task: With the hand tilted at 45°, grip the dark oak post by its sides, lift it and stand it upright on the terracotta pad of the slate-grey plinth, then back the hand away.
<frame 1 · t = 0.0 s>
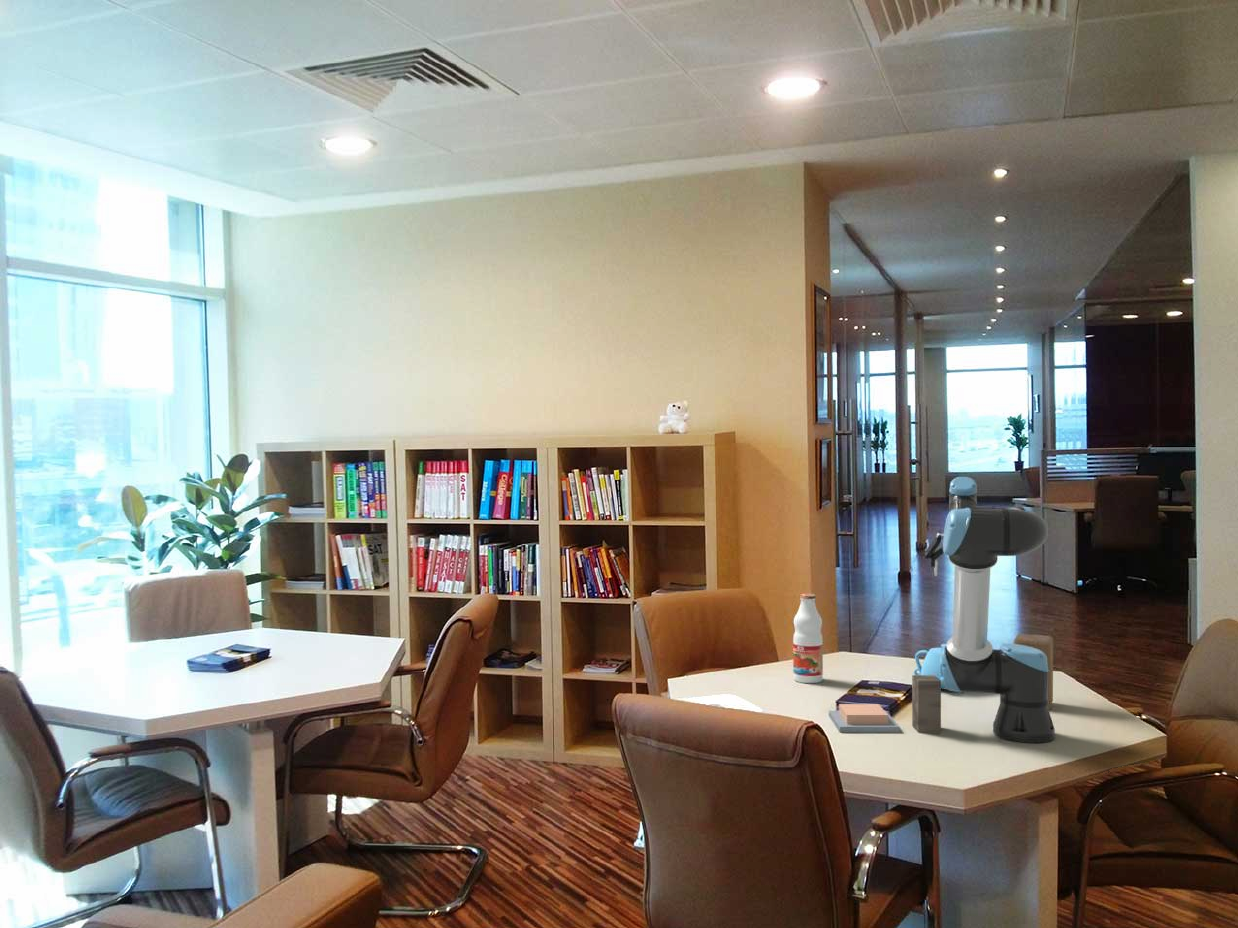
hand: (958, 573, 312), 36 cm above the table, tool tilted 35°, fingers open, 13 cm apart
computer: (715, 715, 285), on the table
fruit juice: (808, 680, 324), on the table
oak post: (926, 729, 268), on the table
decorative pot: (946, 688, 313), on the table
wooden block: (1033, 705, 292), on the table
plinth: (863, 723, 274), on the table
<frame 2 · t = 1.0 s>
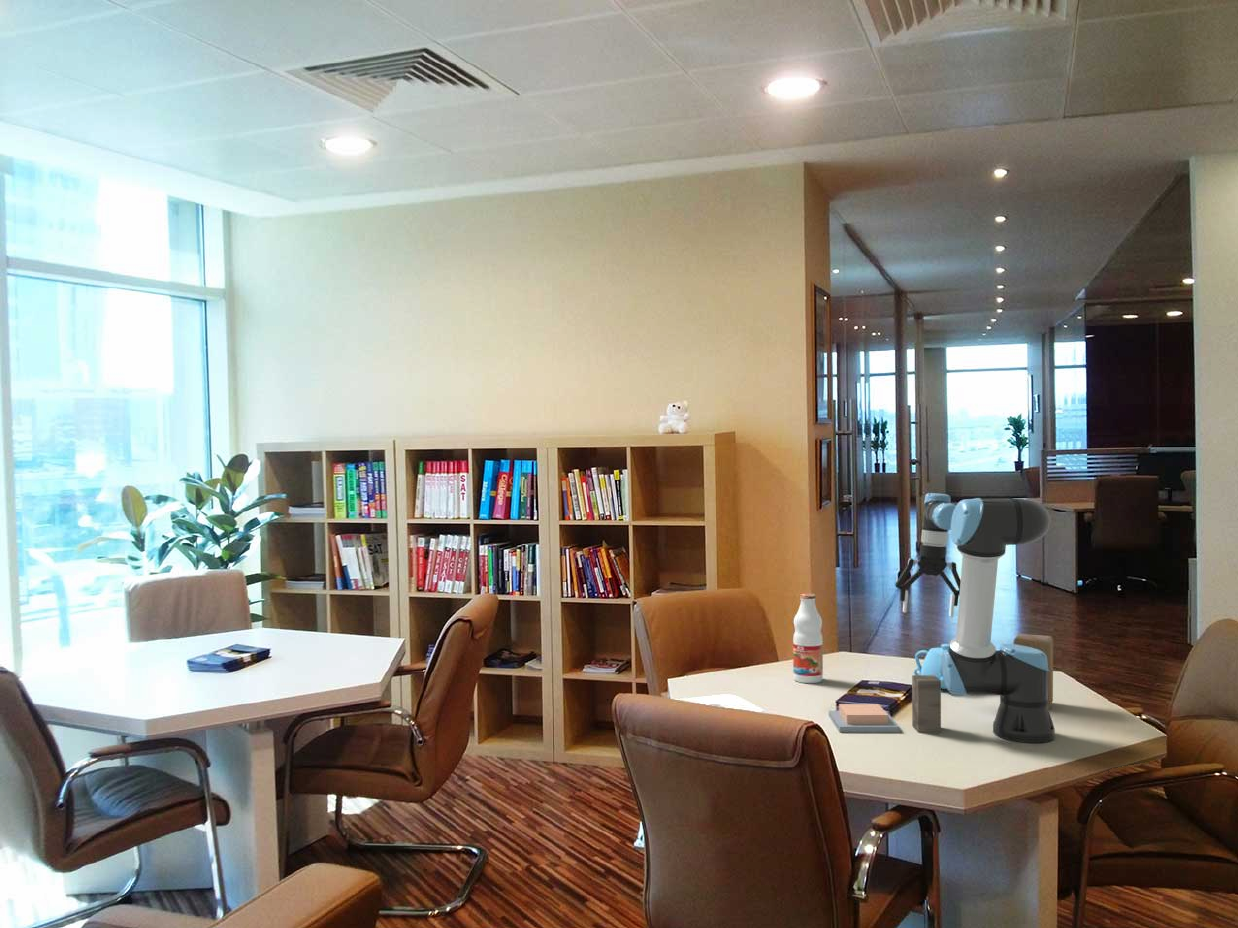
hand: (927, 614, 301), 25 cm above the table, tool pointing down, fingers open, 13 cm apart
nothing on the table moved.
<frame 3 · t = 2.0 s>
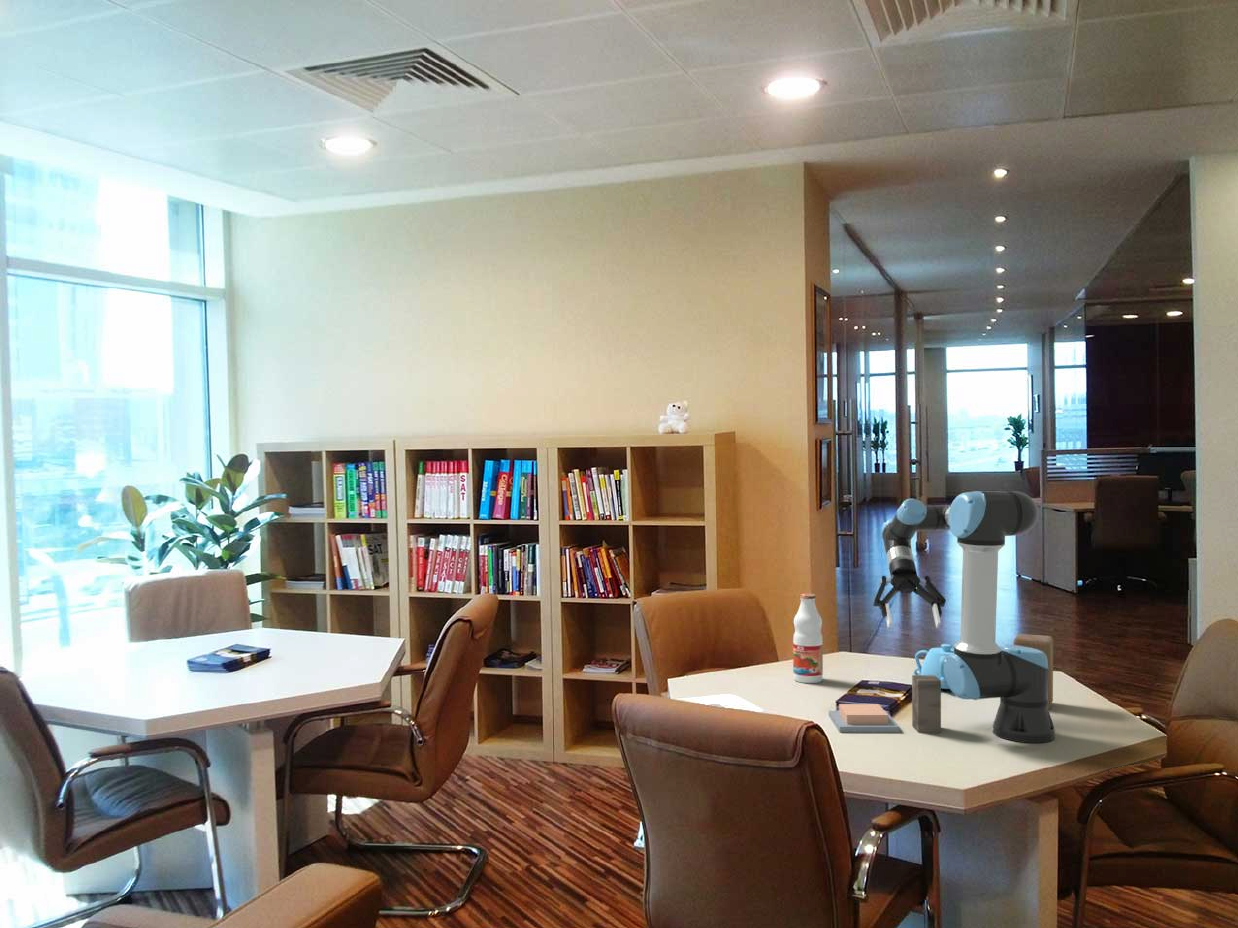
hand: (914, 625, 281), 26 cm above the table, tool tilted 45°, fingers open, 13 cm apart
nothing on the table moved.
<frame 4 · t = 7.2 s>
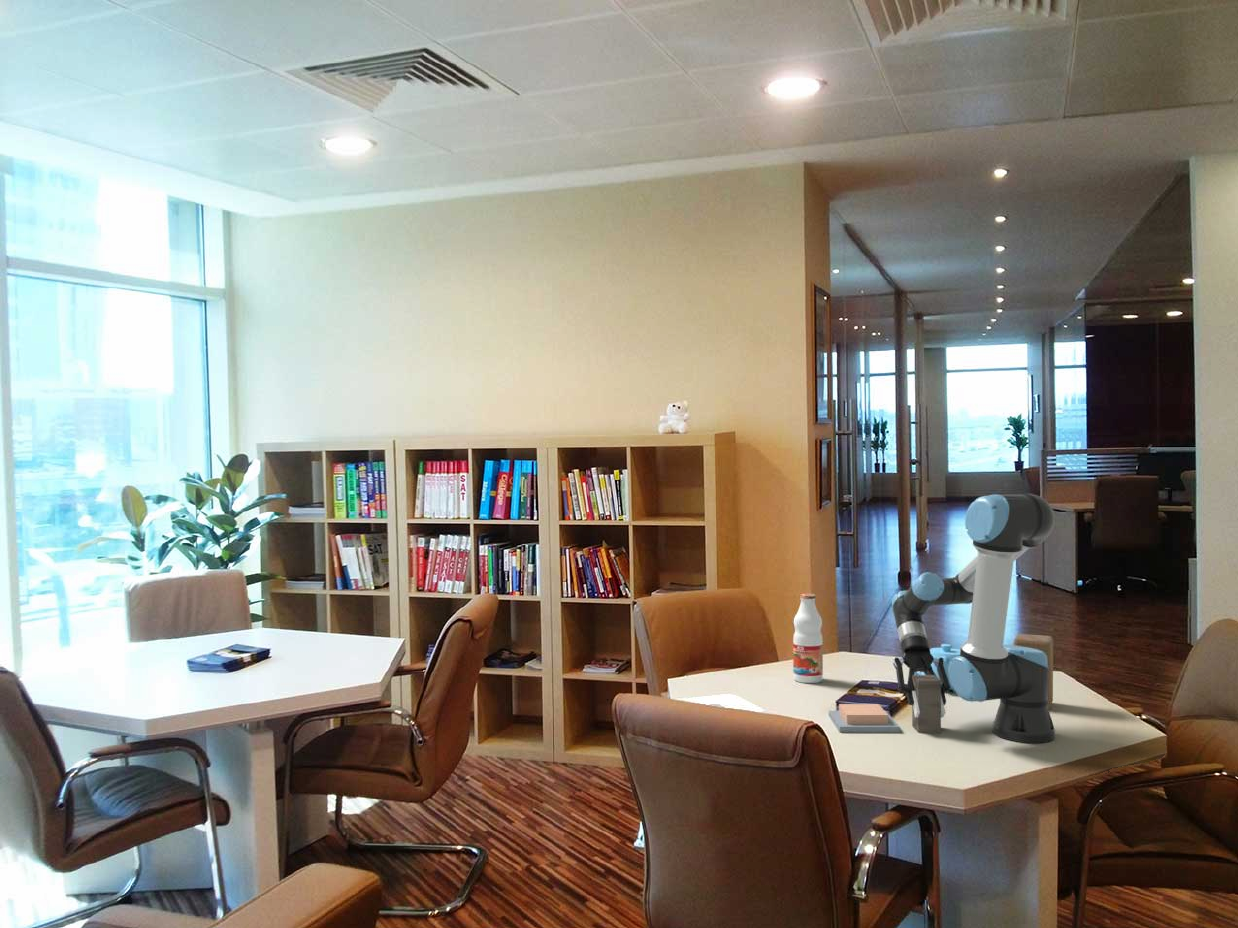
hand: (930, 714, 265), 5 cm above the table, tool tilted 45°, fingers closed on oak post, 6 cm apart
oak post: (926, 729, 268), on the table, touching gripper
everything else where it was.
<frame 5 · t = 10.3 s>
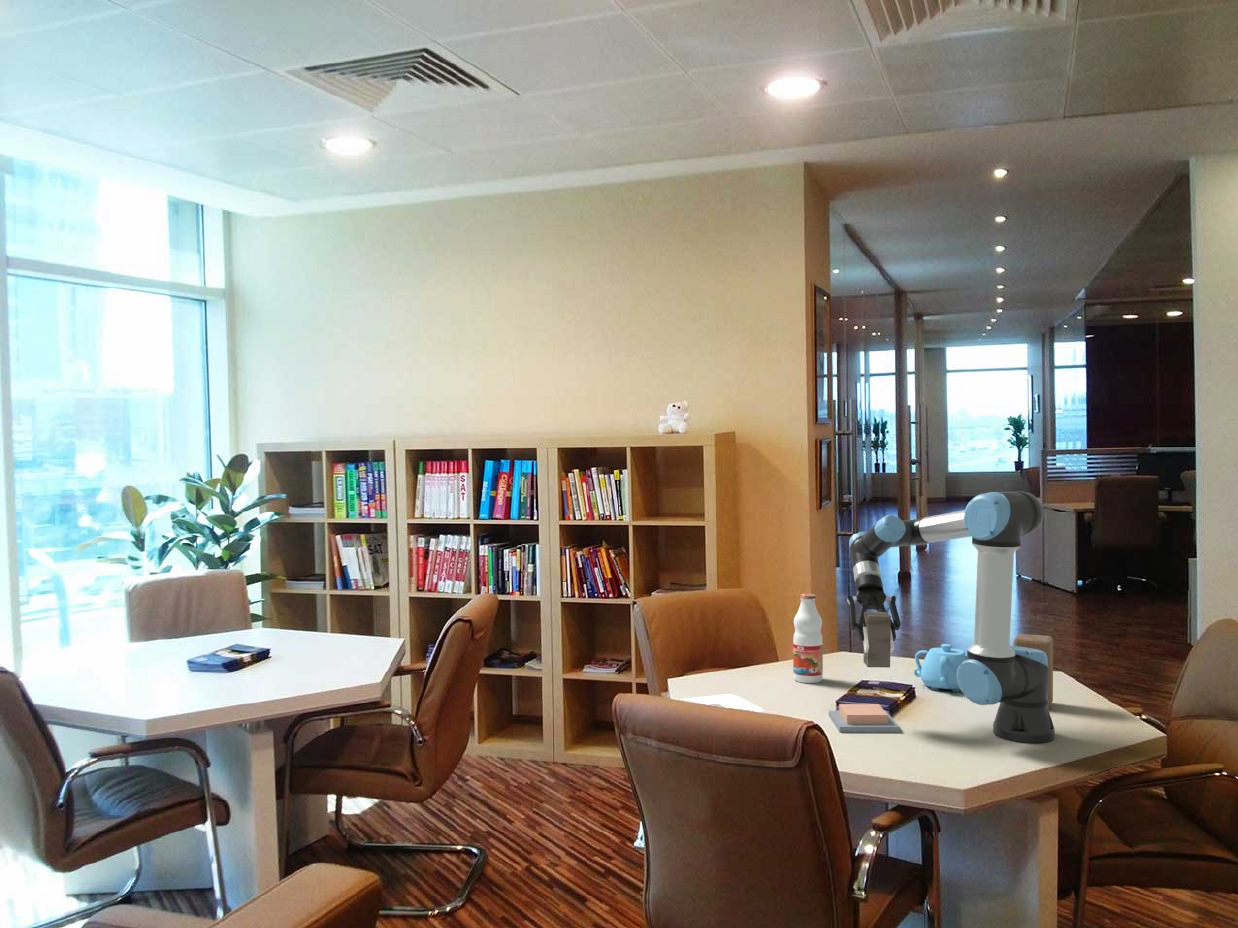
hand: (879, 649, 270), 21 cm above the table, tool tilted 45°, fingers closed on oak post, 6 cm apart
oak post: (876, 664, 274), point 16 cm above the table, touching gripper
everything else where it was.
when the fingers open (10 cm above the table, at t = 13.5 s): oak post stays where it is, resting on plinth.
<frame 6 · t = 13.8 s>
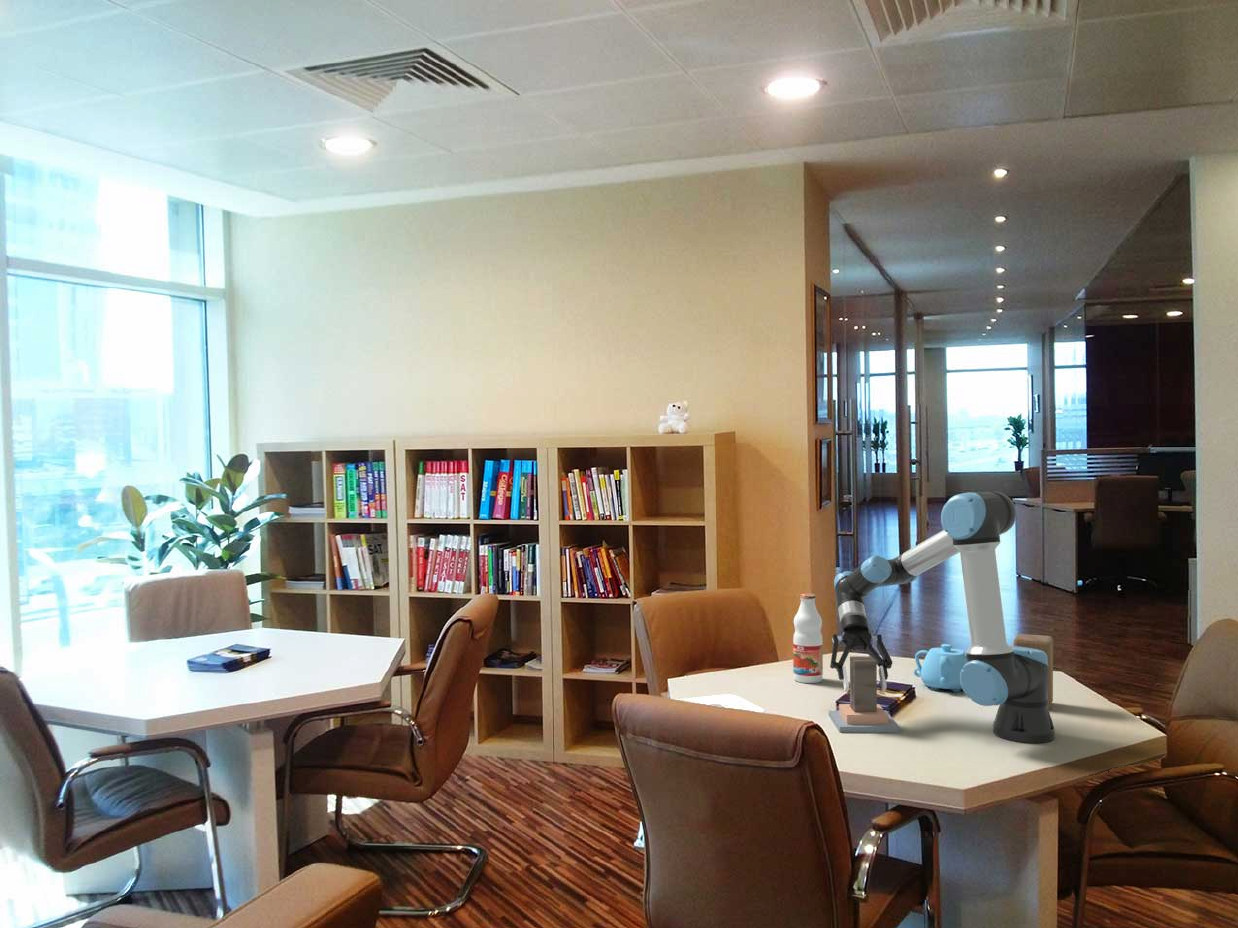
hand: (865, 689, 271), 10 cm above the table, tool tilted 45°, fingers open, 9 cm apart
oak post: (863, 709, 274), point 4 cm above the table, touching plinth
everything else where it was.
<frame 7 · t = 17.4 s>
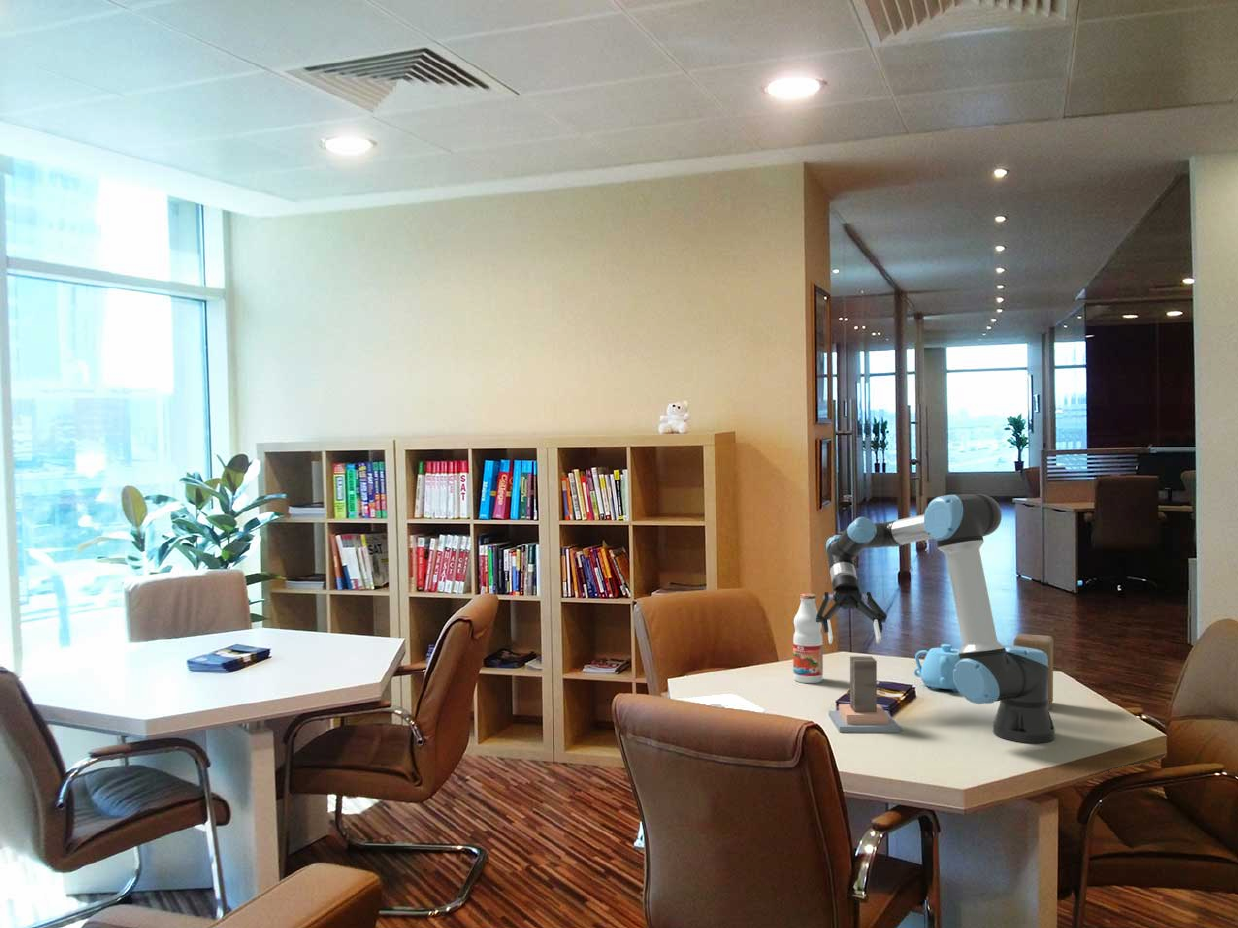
hand: (855, 641, 284), 21 cm above the table, tool tilted 45°, fingers open, 13 cm apart
nothing on the table moved.
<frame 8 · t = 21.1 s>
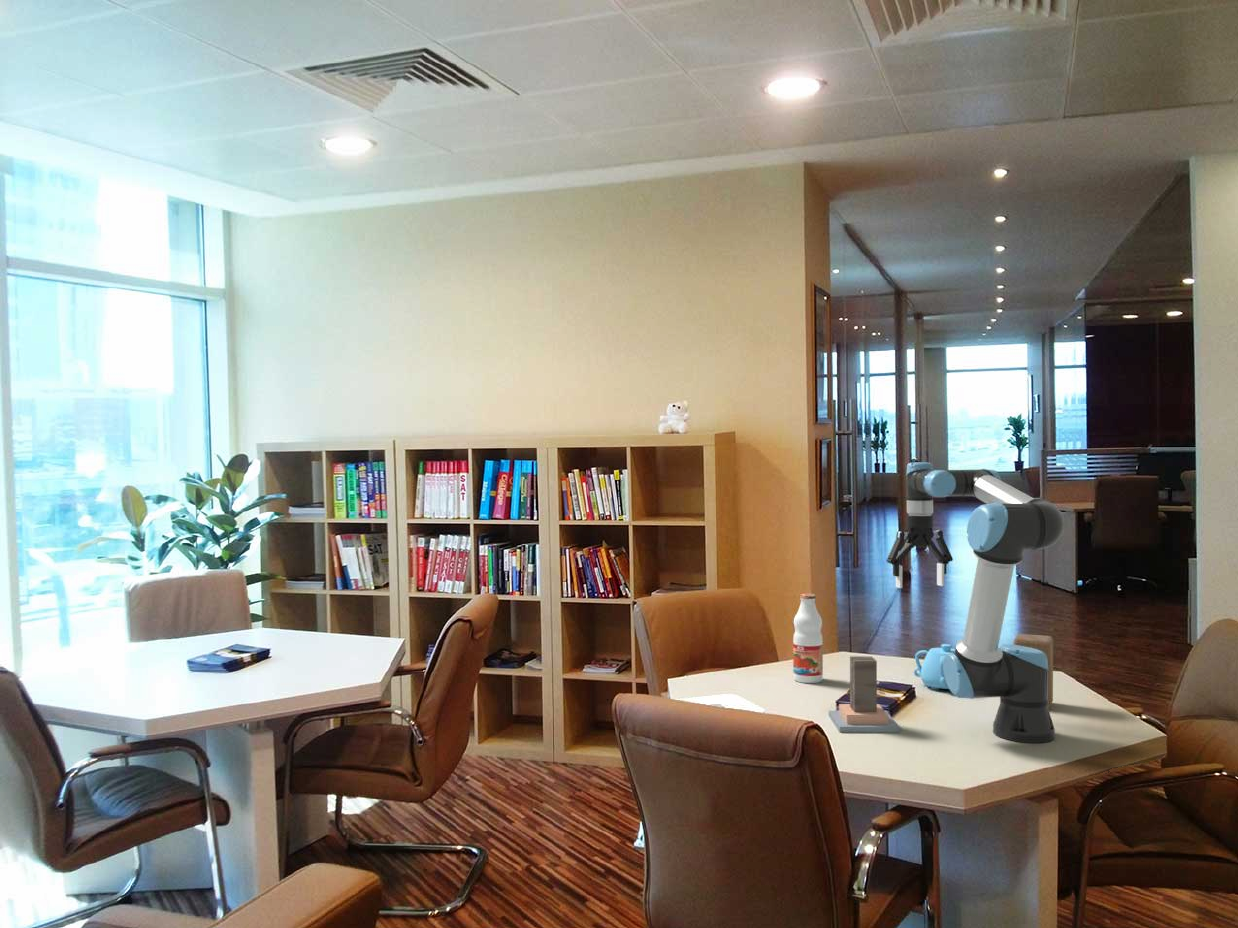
hand: (919, 586, 294), 35 cm above the table, tool pointing down, fingers open, 13 cm apart
nothing on the table moved.
at the end: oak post 0.0 cm off-centre on the plinth, point 4.0 cm above the plinth's base; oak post tilted 0°; the gripper is holding nothing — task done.
